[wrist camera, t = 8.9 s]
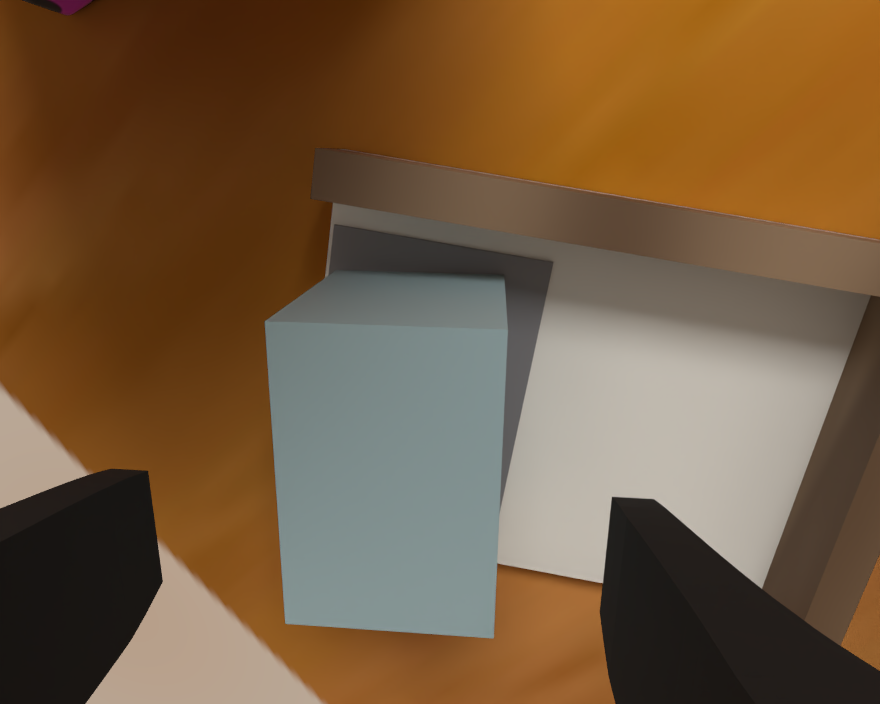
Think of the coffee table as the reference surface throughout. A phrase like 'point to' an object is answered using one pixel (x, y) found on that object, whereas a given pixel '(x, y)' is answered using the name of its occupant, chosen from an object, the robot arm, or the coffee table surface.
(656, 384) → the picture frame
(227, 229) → the coffee table surface
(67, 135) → the coffee table surface
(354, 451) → the teal block
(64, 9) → the candy bar box
